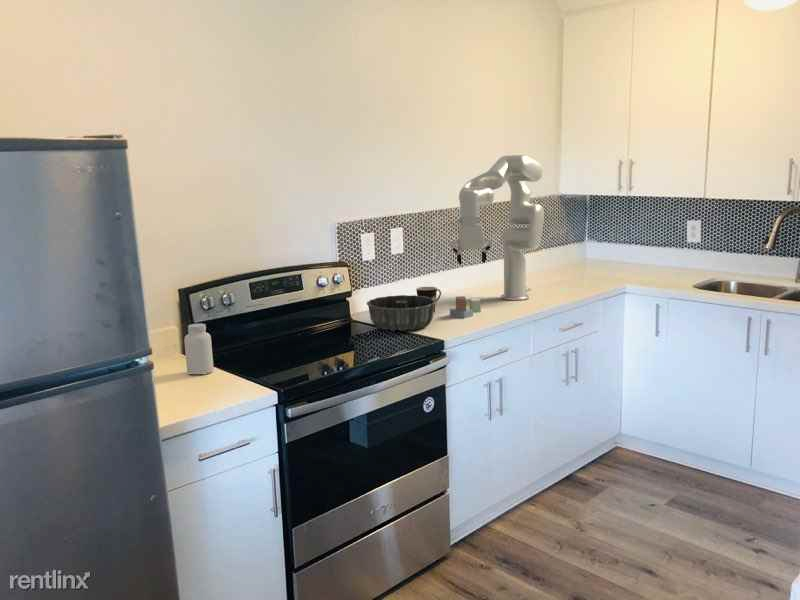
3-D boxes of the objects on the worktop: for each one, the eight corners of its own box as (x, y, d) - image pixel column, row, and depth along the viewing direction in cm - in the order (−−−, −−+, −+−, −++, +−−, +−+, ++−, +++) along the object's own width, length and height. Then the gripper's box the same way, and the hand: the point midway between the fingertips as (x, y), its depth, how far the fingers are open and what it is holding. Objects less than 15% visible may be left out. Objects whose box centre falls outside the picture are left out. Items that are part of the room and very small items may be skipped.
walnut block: (456, 308, 297) (455, 296, 296) (464, 308, 297) (464, 296, 296) (457, 311, 291) (457, 299, 290) (466, 311, 291) (466, 298, 290)
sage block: (469, 309, 307) (469, 298, 306) (477, 309, 307) (477, 297, 306) (472, 312, 301) (472, 300, 300) (480, 312, 301) (480, 300, 300)
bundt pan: (451, 325, 279) (450, 299, 277) (401, 338, 261) (400, 310, 259) (402, 316, 298) (402, 292, 296) (353, 328, 280) (352, 302, 278)
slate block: (450, 316, 296) (449, 309, 296) (458, 314, 299) (458, 307, 299) (464, 319, 290) (464, 312, 290) (473, 317, 293) (472, 310, 293)
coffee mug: (420, 314, 300) (419, 290, 298) (414, 311, 308) (413, 287, 306) (447, 312, 303) (446, 288, 301) (440, 308, 311) (440, 285, 309)
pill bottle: (216, 368, 230) (212, 321, 227) (210, 375, 222) (206, 327, 219) (190, 369, 230) (186, 322, 227) (184, 376, 222) (179, 328, 219)
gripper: (450, 223, 288) (452, 266, 291) (493, 220, 289) (494, 263, 292) (447, 221, 295) (449, 263, 299) (489, 218, 296) (490, 260, 300)
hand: (471, 263), depth 295 cm, fingers open, 9 cm apart
